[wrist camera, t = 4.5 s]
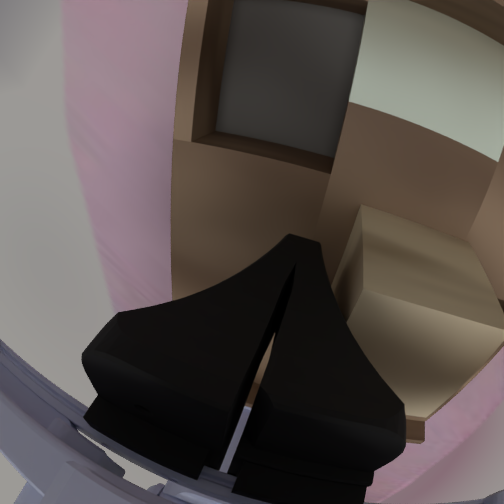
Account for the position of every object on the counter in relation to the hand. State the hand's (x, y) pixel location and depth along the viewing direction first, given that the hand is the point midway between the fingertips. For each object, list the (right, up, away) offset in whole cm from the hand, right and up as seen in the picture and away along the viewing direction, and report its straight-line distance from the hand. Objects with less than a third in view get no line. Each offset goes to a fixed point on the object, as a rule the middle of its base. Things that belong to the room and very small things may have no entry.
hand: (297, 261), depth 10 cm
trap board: (+4, +1, +2) cm, 5 cm away
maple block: (+4, -1, 0) cm, 4 cm away
